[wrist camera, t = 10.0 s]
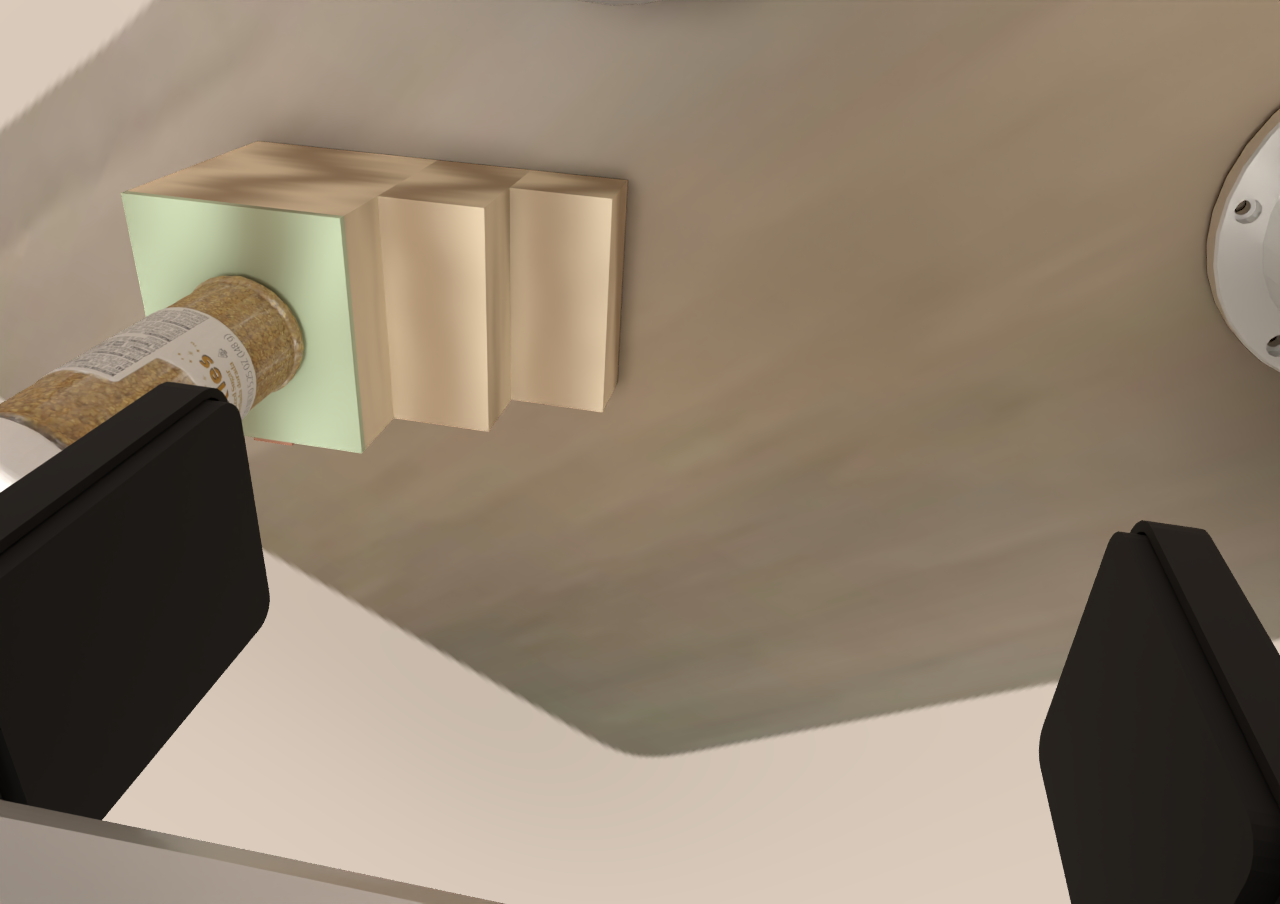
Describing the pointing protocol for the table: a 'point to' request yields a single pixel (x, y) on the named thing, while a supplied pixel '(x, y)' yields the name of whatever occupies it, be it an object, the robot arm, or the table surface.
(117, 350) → the spice jar
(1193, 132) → the table surface
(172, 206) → the step stand
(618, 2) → the food container
